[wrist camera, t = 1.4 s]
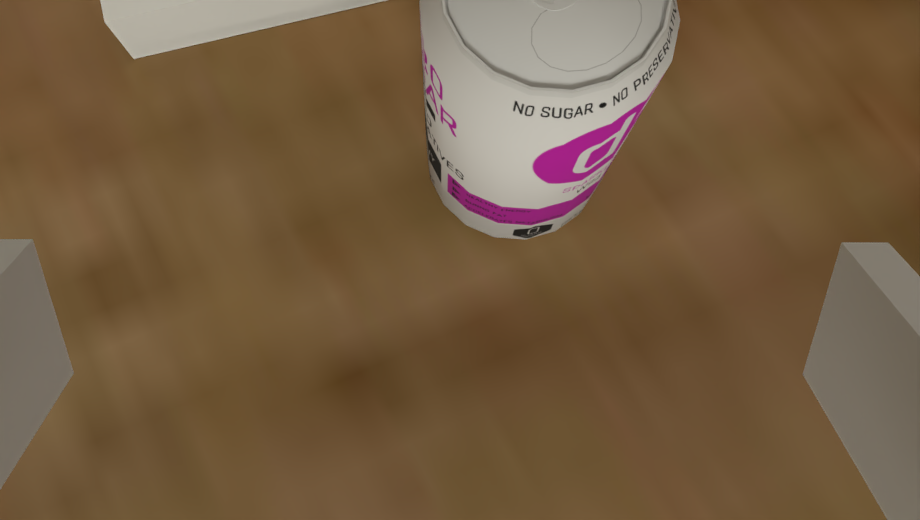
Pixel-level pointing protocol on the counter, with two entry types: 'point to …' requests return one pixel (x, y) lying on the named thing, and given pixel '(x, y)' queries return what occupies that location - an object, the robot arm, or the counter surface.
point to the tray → (204, 19)
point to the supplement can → (535, 101)
